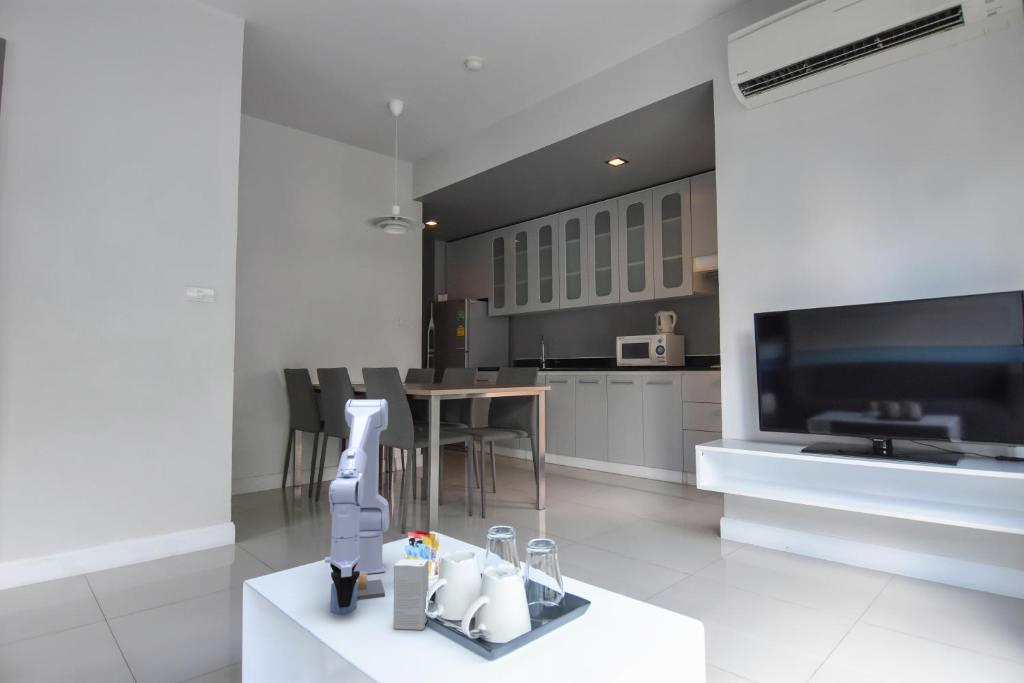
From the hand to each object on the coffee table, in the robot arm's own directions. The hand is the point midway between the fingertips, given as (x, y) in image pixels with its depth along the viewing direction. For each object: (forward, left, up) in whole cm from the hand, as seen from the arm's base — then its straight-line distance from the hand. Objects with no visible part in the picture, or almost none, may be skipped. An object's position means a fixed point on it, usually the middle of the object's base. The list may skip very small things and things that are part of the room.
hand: (343, 601), depth 114 cm
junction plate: (-8, +4, -1) cm, 10 cm away
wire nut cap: (0, 0, -1) cm, 1 cm away
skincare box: (+13, +12, -2) cm, 18 cm away
